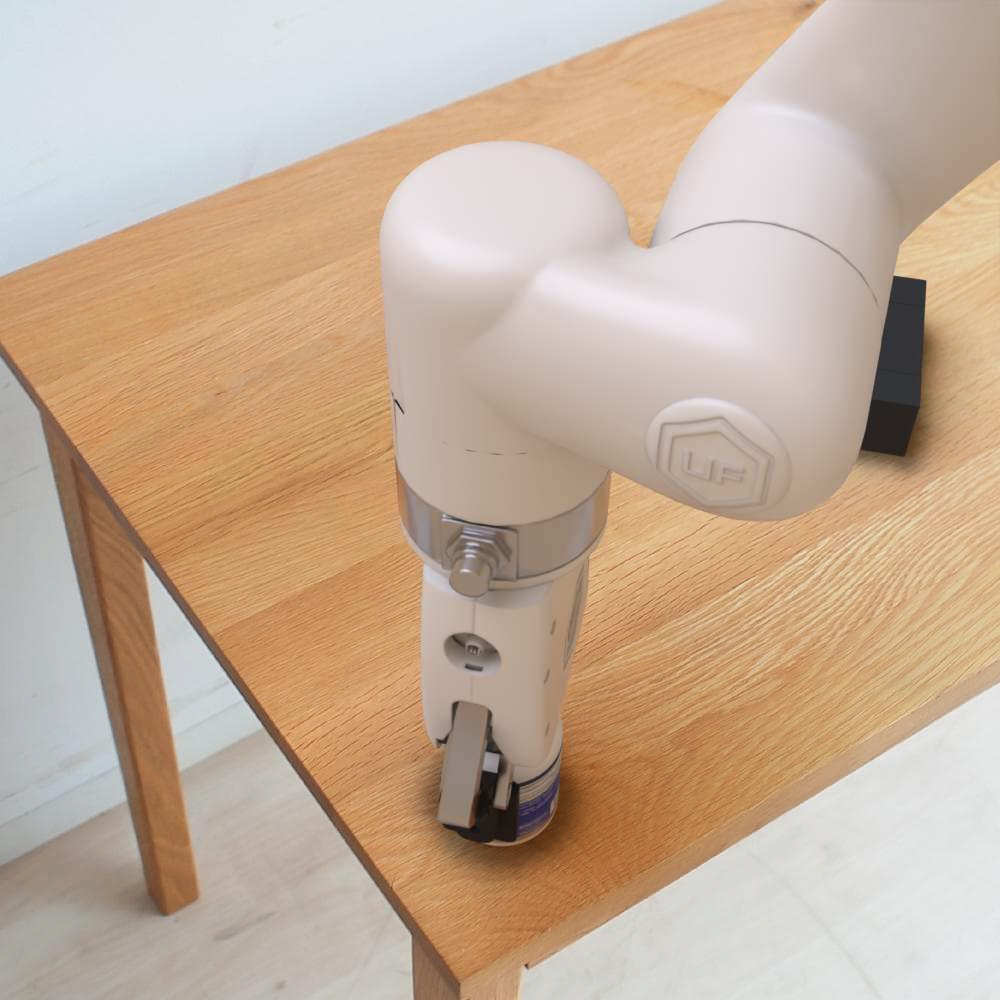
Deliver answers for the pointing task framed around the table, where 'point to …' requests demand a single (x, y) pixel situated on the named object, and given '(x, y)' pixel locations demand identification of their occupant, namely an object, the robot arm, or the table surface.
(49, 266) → the table surface
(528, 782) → the pill bottle
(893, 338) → the socket pad
